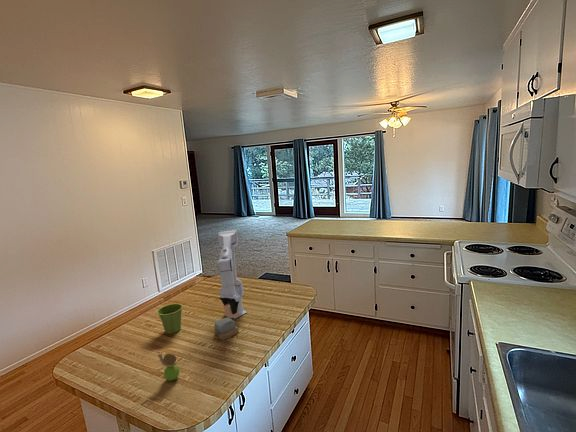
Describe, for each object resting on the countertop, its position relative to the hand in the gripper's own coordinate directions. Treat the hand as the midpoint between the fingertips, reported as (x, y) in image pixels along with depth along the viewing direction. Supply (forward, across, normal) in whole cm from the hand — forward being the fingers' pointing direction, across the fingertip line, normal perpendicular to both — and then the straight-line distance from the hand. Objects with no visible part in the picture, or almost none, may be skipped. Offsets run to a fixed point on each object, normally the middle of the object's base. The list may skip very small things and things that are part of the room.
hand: (231, 311), depth 141 cm
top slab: (+7, -2, -3) cm, 8 cm away
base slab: (+10, -2, -3) cm, 11 cm away
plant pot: (+10, -26, -18) cm, 33 cm away
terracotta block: (+2, 0, 0) cm, 2 cm away
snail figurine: (+10, +9, -34) cm, 37 cm away
